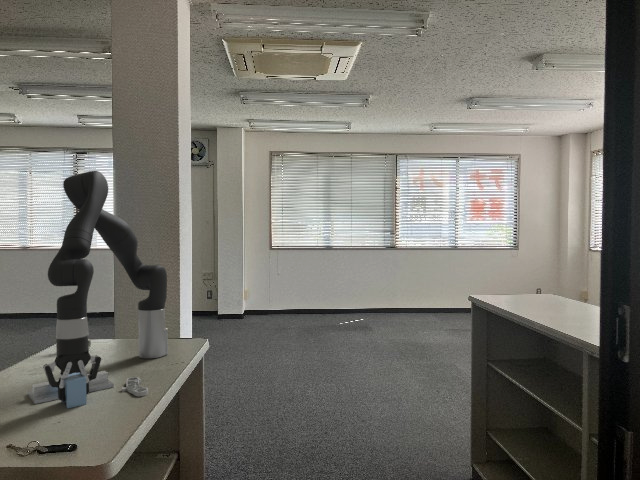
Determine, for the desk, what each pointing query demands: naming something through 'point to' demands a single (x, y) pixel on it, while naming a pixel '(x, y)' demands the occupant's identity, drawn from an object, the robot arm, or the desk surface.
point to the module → (75, 390)
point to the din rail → (55, 395)
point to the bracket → (135, 387)
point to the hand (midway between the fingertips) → (73, 398)
